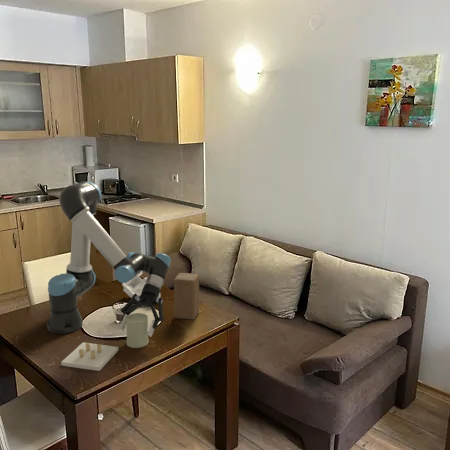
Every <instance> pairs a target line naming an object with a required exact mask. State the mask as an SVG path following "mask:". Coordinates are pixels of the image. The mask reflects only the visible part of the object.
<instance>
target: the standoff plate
mask: <svg viewBox="0 0 450 450" xmlns="http://www.w3.org/2000/svg"><path fill="white" fill-rule="evenodd" d="M118 351H119V346H113V345H105V344H100V343H99V344H98V343H90V342H84V341H83V342H82V343H80V344H79V345H78V346H77V347H76V348H75V349H74V350H73V351H72V352H71V353H69V354H68V355H67V356H66V357H65V358H64V359H63V360H61V363H60V364H61V366H63V367H68V368H69V367H70V368H76V369H82V370H88V371H89V370H91V371H96V372H99V371H102V369H103V368H104V366H106V364H108V362H109V361H110V360H111V359H112V358H113V357H114V356H115V354H117V353H118Z"/></svg>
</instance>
